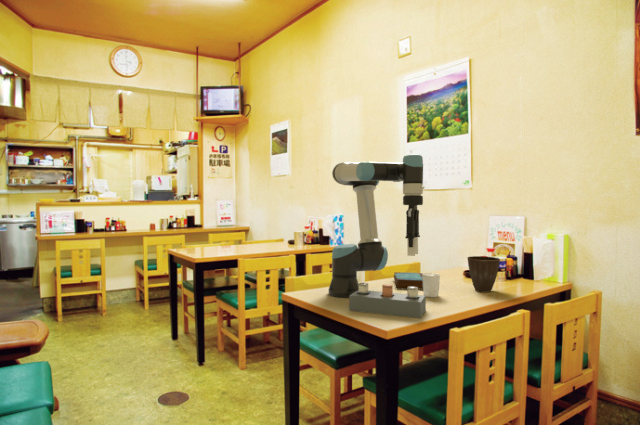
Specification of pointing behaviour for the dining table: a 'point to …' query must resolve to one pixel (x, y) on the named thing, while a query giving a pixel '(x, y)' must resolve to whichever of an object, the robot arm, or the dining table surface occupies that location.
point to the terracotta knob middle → (387, 291)
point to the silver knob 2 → (412, 293)
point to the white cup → (431, 284)
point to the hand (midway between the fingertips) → (412, 254)
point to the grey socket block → (388, 304)
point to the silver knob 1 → (363, 288)
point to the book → (408, 280)
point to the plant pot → (483, 272)
